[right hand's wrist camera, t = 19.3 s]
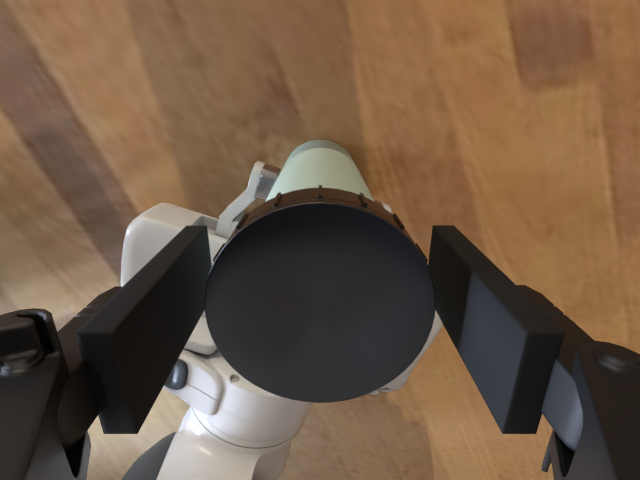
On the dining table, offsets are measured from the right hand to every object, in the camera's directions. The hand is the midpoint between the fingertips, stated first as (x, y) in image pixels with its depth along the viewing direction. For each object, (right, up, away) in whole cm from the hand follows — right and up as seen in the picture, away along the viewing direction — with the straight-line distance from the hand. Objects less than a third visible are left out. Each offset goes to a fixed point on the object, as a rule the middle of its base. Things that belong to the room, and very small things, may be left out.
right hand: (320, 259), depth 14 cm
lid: (0, -1, -3) cm, 3 cm away
